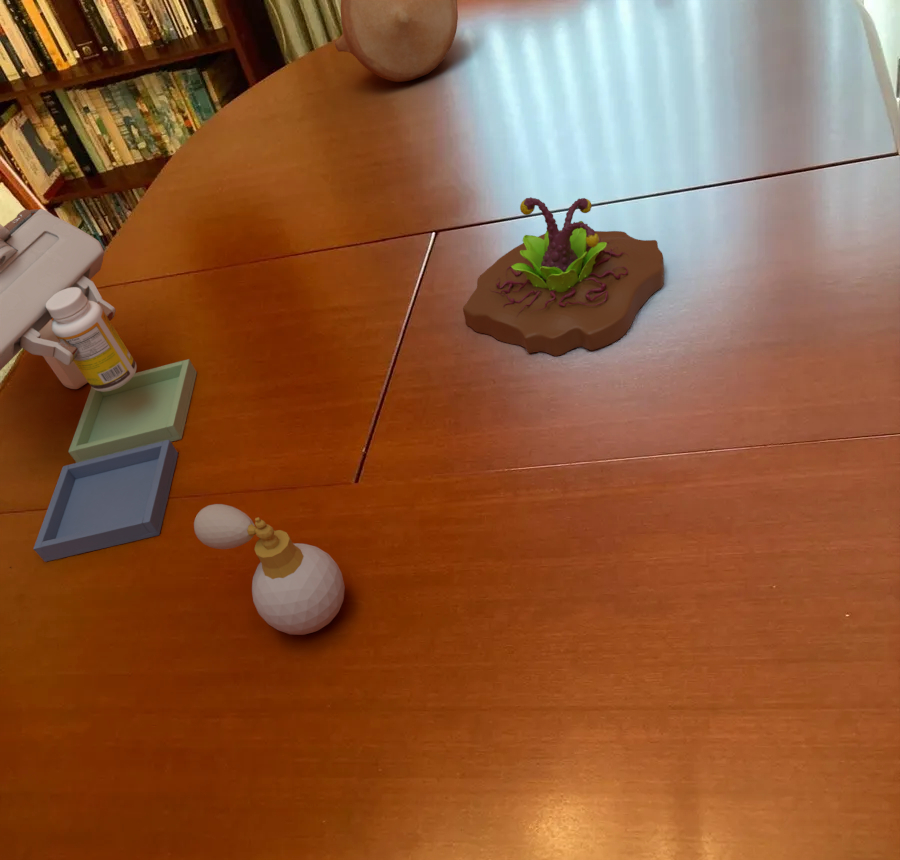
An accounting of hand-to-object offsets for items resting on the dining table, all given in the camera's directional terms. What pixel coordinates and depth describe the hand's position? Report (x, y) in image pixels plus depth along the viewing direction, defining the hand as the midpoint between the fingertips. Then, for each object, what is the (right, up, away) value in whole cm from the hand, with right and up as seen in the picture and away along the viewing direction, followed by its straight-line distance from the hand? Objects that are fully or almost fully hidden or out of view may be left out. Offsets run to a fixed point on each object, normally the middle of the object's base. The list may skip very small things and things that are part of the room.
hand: (92, 337), depth 94 cm
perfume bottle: (+25, -30, -19) cm, 43 cm away
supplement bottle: (+1, -3, +4) cm, 6 cm away
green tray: (+2, -7, +8) cm, 11 cm away
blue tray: (+3, -18, -2) cm, 18 cm away
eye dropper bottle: (-9, 0, +18) cm, 20 cm away
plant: (+50, +5, +2) cm, 51 cm away
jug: (+31, +66, +61) cm, 95 cm away
